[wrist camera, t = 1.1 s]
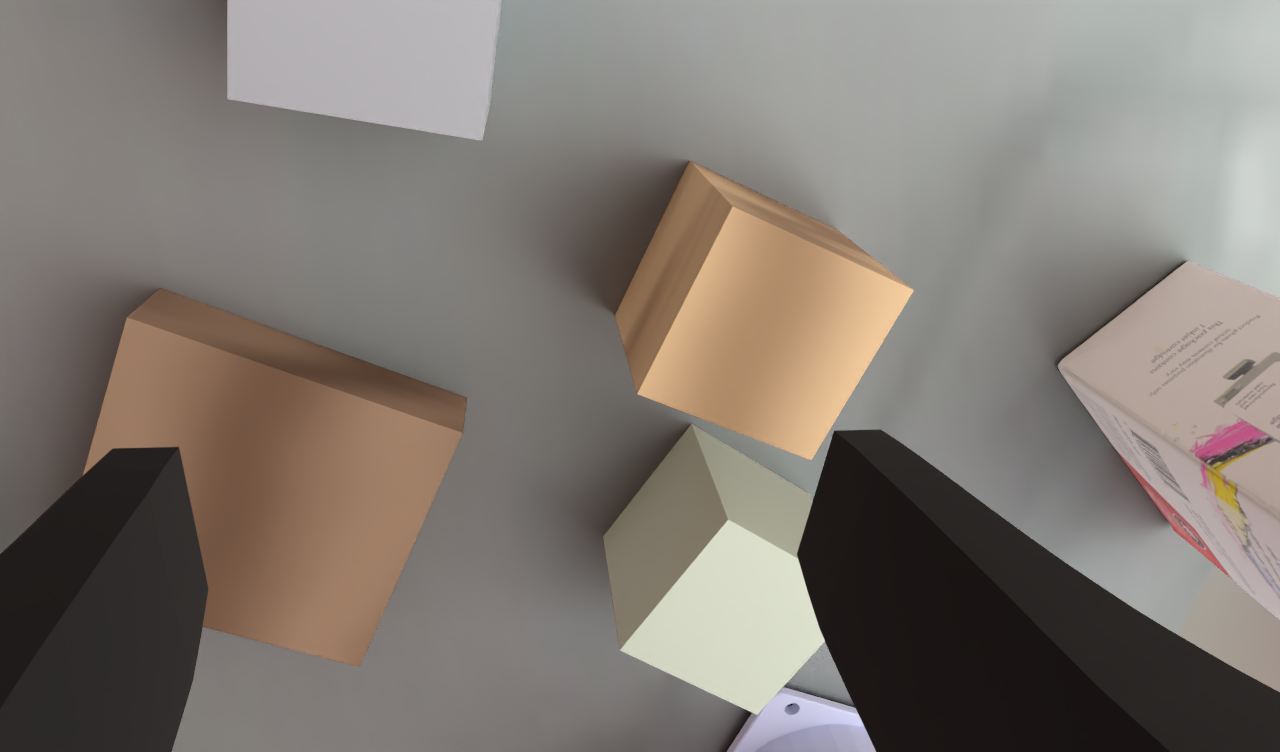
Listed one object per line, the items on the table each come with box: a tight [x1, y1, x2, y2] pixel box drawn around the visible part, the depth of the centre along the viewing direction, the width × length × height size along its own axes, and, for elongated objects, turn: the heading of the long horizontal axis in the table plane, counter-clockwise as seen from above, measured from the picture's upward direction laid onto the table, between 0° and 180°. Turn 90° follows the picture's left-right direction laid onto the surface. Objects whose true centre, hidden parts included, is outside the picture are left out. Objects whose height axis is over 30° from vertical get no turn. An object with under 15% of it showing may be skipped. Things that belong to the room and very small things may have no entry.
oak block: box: [615, 161, 914, 460], centre depth 21 cm, size 4×4×5 cm
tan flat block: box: [83, 288, 467, 667], centre depth 23 cm, size 8×8×2 cm
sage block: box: [603, 424, 825, 715], centre depth 24 cm, size 4×4×5 cm
